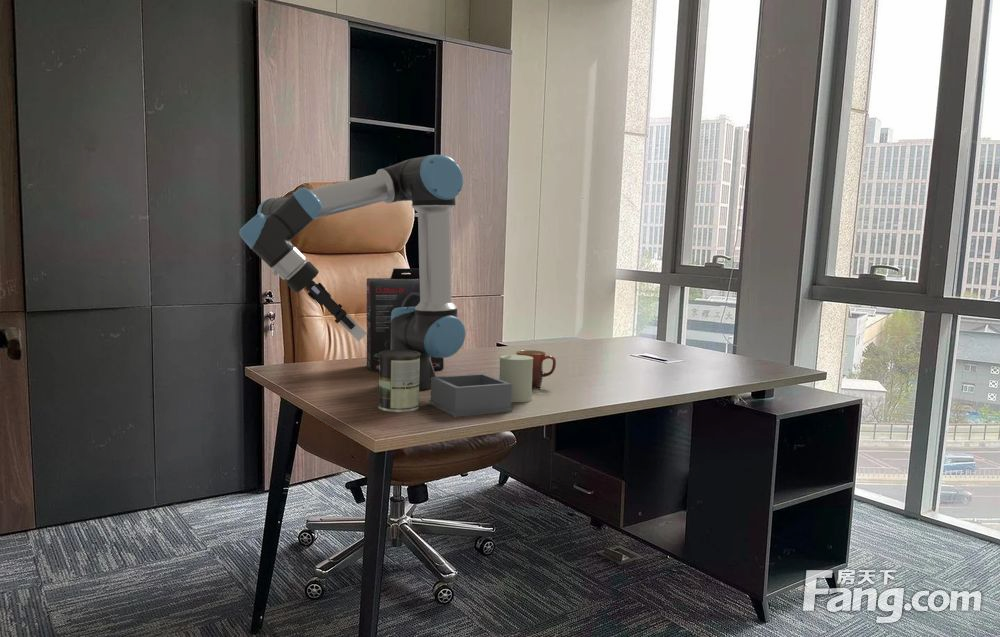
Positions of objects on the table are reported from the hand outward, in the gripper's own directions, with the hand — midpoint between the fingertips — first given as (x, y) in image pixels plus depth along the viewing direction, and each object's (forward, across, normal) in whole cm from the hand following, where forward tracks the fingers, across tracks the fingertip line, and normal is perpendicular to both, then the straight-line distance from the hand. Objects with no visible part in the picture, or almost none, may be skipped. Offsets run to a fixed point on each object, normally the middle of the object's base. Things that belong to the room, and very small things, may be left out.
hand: (359, 333), depth 179 cm
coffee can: (+21, 0, -6) cm, 22 cm away
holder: (+33, +3, +7) cm, 34 cm away
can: (+44, -5, +17) cm, 47 cm away
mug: (+52, -20, +26) cm, 61 cm away
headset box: (+29, -58, +3) cm, 65 cm away
